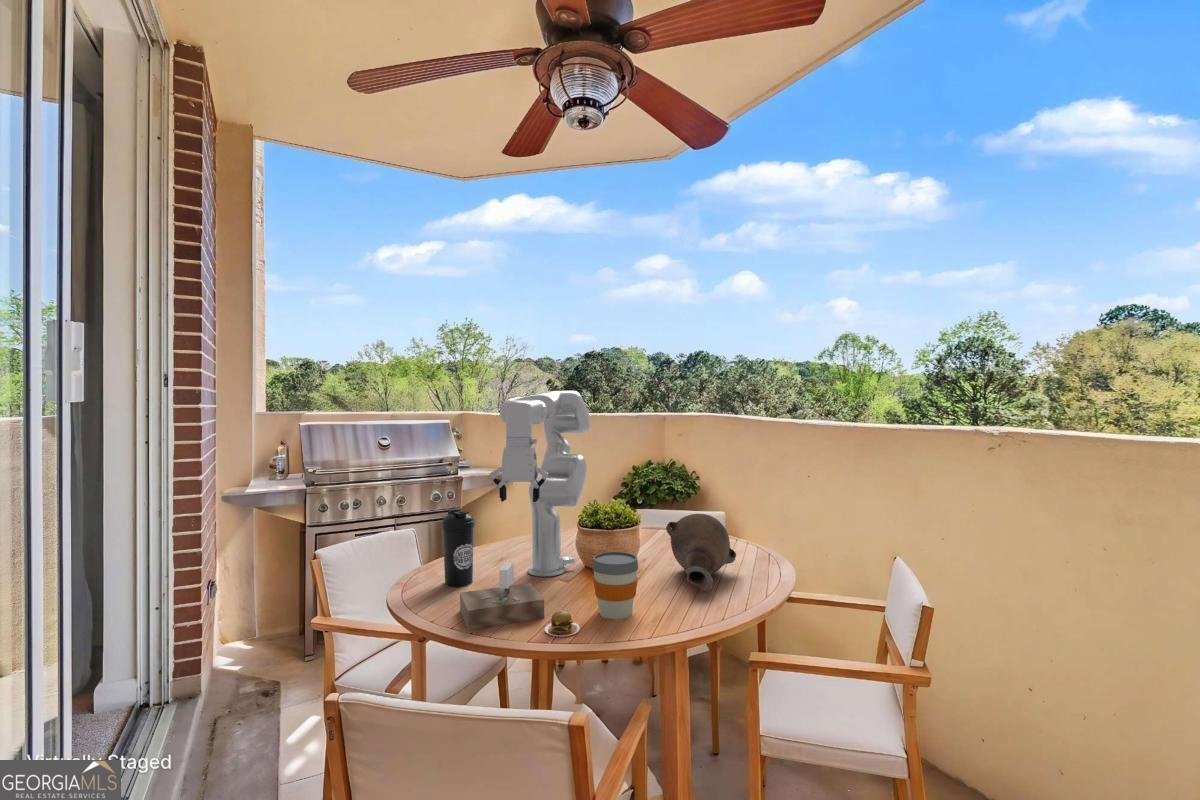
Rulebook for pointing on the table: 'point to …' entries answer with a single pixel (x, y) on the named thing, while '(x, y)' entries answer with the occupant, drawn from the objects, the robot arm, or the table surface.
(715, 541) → the jug
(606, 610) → the reusable coffee cup
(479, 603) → the brown slab
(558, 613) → the hamburger
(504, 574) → the peg
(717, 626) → the table surface
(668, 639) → the table surface
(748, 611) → the table surface
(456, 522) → the water bottle
